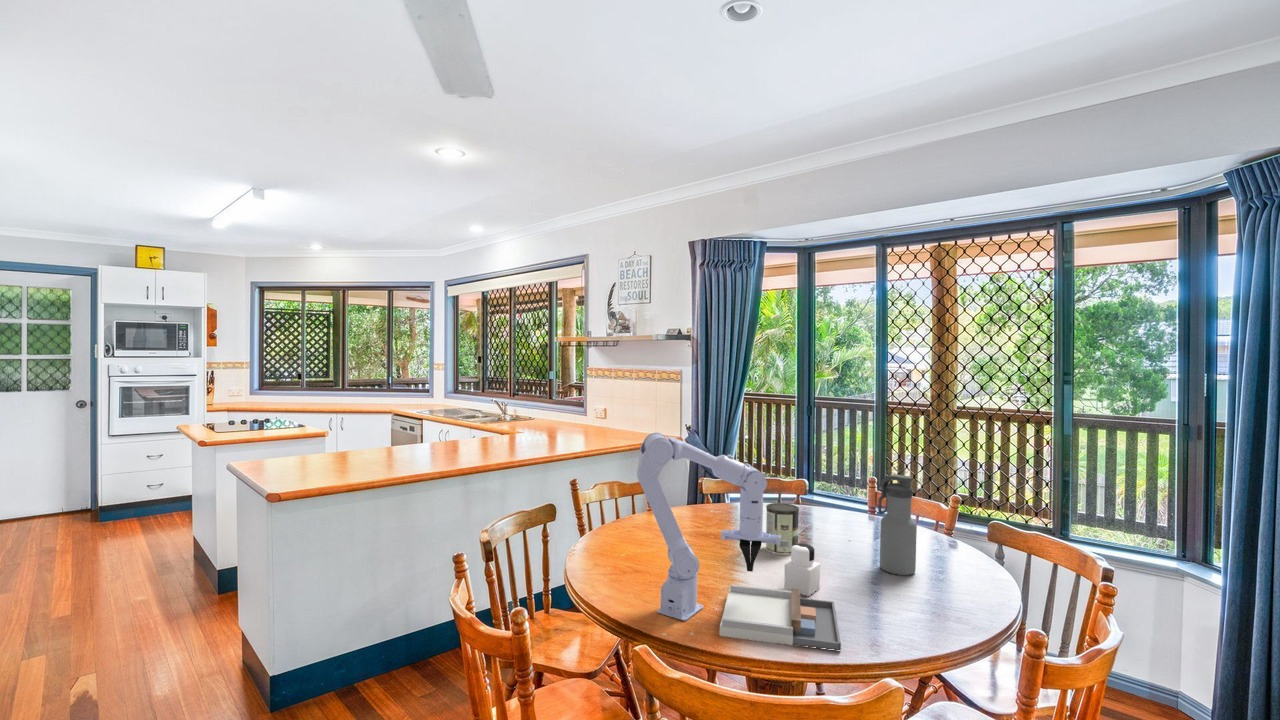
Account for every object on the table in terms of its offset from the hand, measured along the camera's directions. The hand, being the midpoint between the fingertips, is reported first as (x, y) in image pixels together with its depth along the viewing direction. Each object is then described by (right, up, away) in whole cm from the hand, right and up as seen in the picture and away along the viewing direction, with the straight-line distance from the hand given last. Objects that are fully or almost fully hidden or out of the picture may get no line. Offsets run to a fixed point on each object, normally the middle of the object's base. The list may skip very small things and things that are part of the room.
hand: (750, 570), depth 150 cm
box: (+13, -10, -9) cm, 19 cm away
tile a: (+12, -9, -6) cm, 16 cm away
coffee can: (+18, -9, +43) cm, 48 cm away
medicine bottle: (+16, -10, +12) cm, 22 cm away
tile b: (+10, -10, -12) cm, 19 cm away
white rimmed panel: (+1, -10, -6) cm, 11 cm away
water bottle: (+49, -10, +27) cm, 57 cm away
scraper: (+9, -7, -8) cm, 15 cm away
